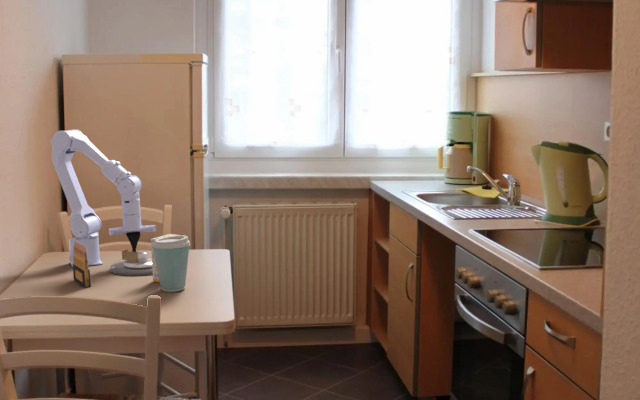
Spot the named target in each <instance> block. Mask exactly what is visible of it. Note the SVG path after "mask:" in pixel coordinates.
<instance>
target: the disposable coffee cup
mask: <svg viewBox="0 0 640 400" xmlns="http://www.w3.org/2000/svg"><path fill="white" fill-rule="evenodd" d="M177 235H178V236H170V237H164V238H160V239H157V240H155V241H154V243H153V246H152V247H153V250H154V255H155V260H156V265H157V270H158V275H159V280H160V282H159V284H160V288H161V290H162V291H163V292H166V293H167V292H169V293H172V292H180V291H184V290H185V287H186V281H187V274H188V263H189V255H190V247H191V242H190V241H191V240H189V236H187V235H183V234H182V235H181V234H177Z"/></svg>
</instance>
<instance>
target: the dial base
mask: <svg viewBox="0 0 640 400" xmlns="http://www.w3.org/2000/svg"><path fill="white" fill-rule="evenodd" d="M125 261H128V260H122V261H118V262H115V263H114V264H112V265H110V267H109V268H110V272H111V273H112V274H115V275H119V276H127V277H128V276H129V277H138V276H139V277H141V276H153V269H152V268H146V269H130V268H125V267H124V266H123V263H124V262H125Z"/></svg>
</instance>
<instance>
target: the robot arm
mask: <svg viewBox="0 0 640 400" xmlns="http://www.w3.org/2000/svg"><path fill="white" fill-rule="evenodd" d="M49 141H50V145H51V162H52V165H53V167H54V170H55V172H56V174H57V178H58V180H59V182H60V186H61V187H62V190H63V193H64V196H65V199H66V200H67V202H68V206H69V207H70V210H71V212H70V215H69V221H70V230H71V233H72V234H73V235H74V237H71V238H68V247H69V255H68V259H69V260H68V261H69V263H70V266H71V267H72V268H73V264H74V260H73V255H74V243H75V241H76V243H79V244H81V245H83V246H85V248H86V251H87V259H88V266H95V265H98V266H99V265H102V264H103V261H102V260H101V258H100V242H99V241H100V240H99V231H100V230H101V228H102V226H103V225H102V220H101V219H100V217H99V216H98V215H97V214H96V212H95V209H93V208H92V207H91V206H90V205H89V204H88V201H87V200H86V196H85V194H84V192H83V190H82V189H83V188H82V187H81V184H80V182H79V179H78V177H77V174H76V172H75V169H74V166H73V164H72V159H73V156H74V155H75V153H76V152H77V153H78V152H79V153H82V154H83V155H85V156H86V157H88V158H89V159H90V160H91V161H92V162H94V163H95V164H97V165H98V166H99V167H100V168H101V174H102V175H104V176H105V177H106V178H107V179H108V181H110V182H112V184H113V185H115V186H116V189H117V192H118V193H119V194H120V197H121V198H120V199H121V209H122V210H121V211H122V214H121V215H122V226H119V227H113V228H108V233H109V236H115V235H126V237H127V239H128V241H129V243H130V245H131V248H132V249H131V251H137V246H138V243H139V241H140V238H141V233H150V232H151V233H155V232H157V227H156V225H155V224H148V225H147V224H145V225H142V215H141V214H142V213H141V199H140V196H141V195H140V191H141V190H142V188H143V187H142V186H143V183H142V181H141V179H140V178H139V176H138V175H133V174H132V172H131V171H128V170H126V168H124V167H123V166H122V163H121V162H120V161H118V160H115V159H108V157H107V156H105V154H104V153H102V152H101V150H99V148H98V147H96V146H95V144H94V143H92V142H91V141H90V139H89V138H88V136H87V135H85V134H83V132H82V131H81V130H80V129H75V128H73V129H69V130H58V131H55V132H54V134H53V136H52V137H51V139H50V140H49Z"/></svg>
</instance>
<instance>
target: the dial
mask: <svg viewBox="0 0 640 400" xmlns="http://www.w3.org/2000/svg"><path fill="white" fill-rule="evenodd" d="M121 259H122V261H125V262H124V263H123V266H124V267H125V268H130V269H146V268H152V257H148V252H147V251H137V250H136V251H132V249H131V250H130V249H128V248H127V249H126V248H125V249H121ZM126 260H128V261H126Z"/></svg>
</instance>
